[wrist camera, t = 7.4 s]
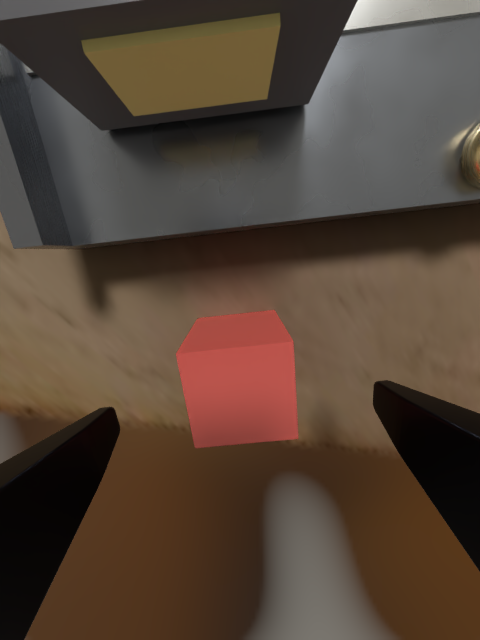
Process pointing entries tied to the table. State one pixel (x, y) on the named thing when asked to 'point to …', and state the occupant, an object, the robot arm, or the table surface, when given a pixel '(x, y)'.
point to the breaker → (175, 54)
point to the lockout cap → (239, 380)
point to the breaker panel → (258, 144)
